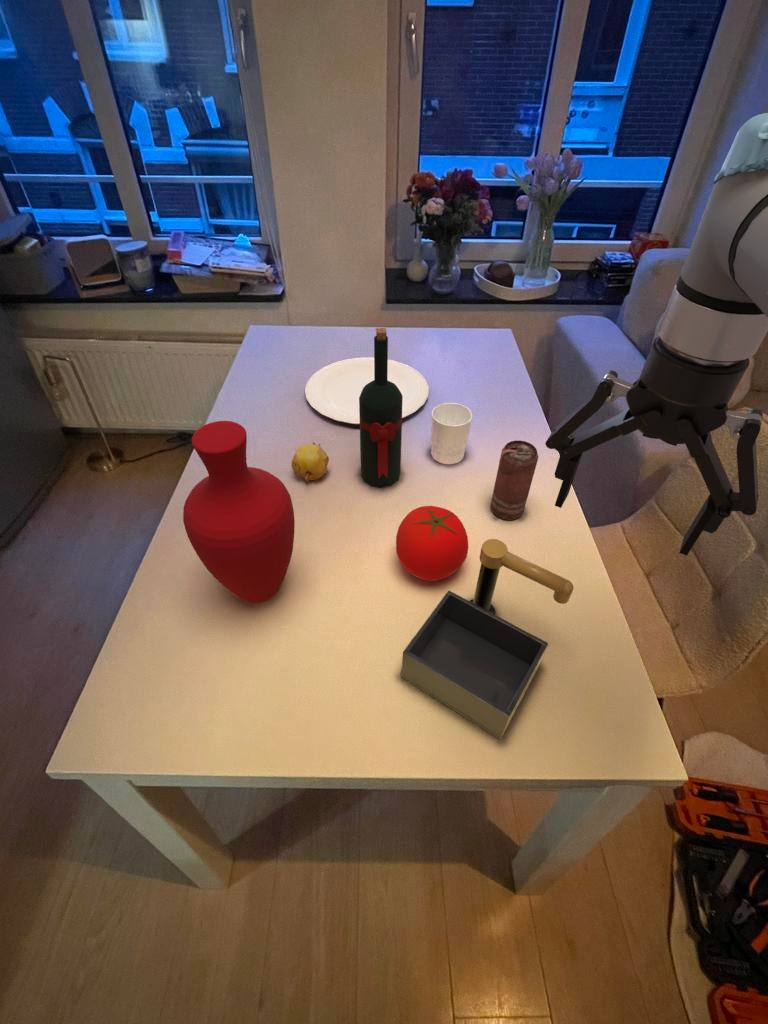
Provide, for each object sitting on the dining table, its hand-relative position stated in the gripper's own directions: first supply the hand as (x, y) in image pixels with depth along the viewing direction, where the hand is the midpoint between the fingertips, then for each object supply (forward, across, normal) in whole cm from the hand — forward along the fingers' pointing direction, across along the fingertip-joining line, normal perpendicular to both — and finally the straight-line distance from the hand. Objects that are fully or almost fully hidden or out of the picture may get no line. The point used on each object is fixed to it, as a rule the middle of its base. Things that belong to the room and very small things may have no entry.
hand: (620, 522), depth 59 cm
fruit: (+26, +55, -11) cm, 62 cm away
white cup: (+26, +35, -31) cm, 53 cm away
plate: (+26, +61, -42) cm, 78 cm away
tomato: (+26, +24, -4) cm, 36 cm away
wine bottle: (+26, +42, -18) cm, 53 cm away
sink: (+26, +10, +11) cm, 30 cm away
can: (+26, +18, -22) cm, 39 cm away
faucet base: (+26, +13, +2) cm, 29 cm away
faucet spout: (+14, +8, +2) cm, 16 cm away
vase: (+26, +45, +15) cm, 54 cm away
